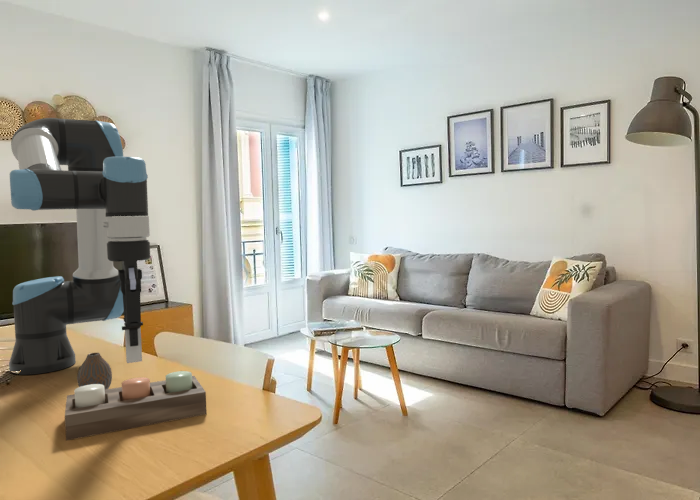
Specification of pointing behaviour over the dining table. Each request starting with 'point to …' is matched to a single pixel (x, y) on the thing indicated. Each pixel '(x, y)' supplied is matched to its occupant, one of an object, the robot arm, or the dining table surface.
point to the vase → (94, 371)
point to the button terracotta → (135, 388)
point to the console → (133, 410)
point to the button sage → (178, 381)
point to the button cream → (89, 395)
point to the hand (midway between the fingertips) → (134, 361)
